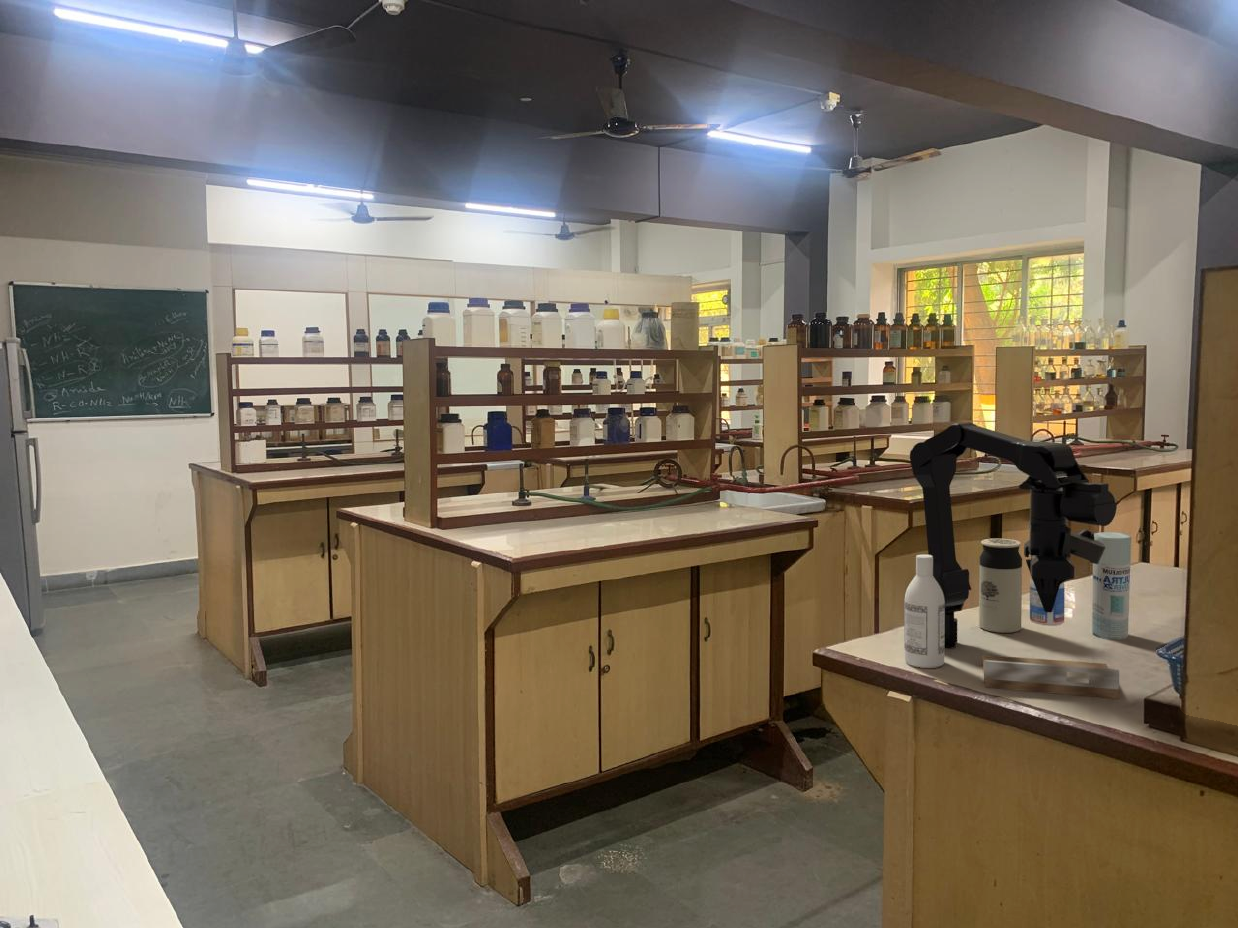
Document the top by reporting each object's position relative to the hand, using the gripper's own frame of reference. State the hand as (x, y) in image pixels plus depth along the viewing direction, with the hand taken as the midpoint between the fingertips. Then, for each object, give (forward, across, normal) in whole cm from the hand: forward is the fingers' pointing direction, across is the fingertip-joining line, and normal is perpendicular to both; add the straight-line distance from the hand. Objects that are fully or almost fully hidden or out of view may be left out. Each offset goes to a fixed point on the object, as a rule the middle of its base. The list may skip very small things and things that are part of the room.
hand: (1046, 607), depth 155 cm
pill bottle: (+3, 0, 0) cm, 3 cm away
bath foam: (+13, +3, +20) cm, 24 cm away
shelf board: (+12, -1, 0) cm, 12 cm away
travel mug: (+13, +29, +6) cm, 32 cm away
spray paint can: (+13, +29, -14) cm, 35 cm away
